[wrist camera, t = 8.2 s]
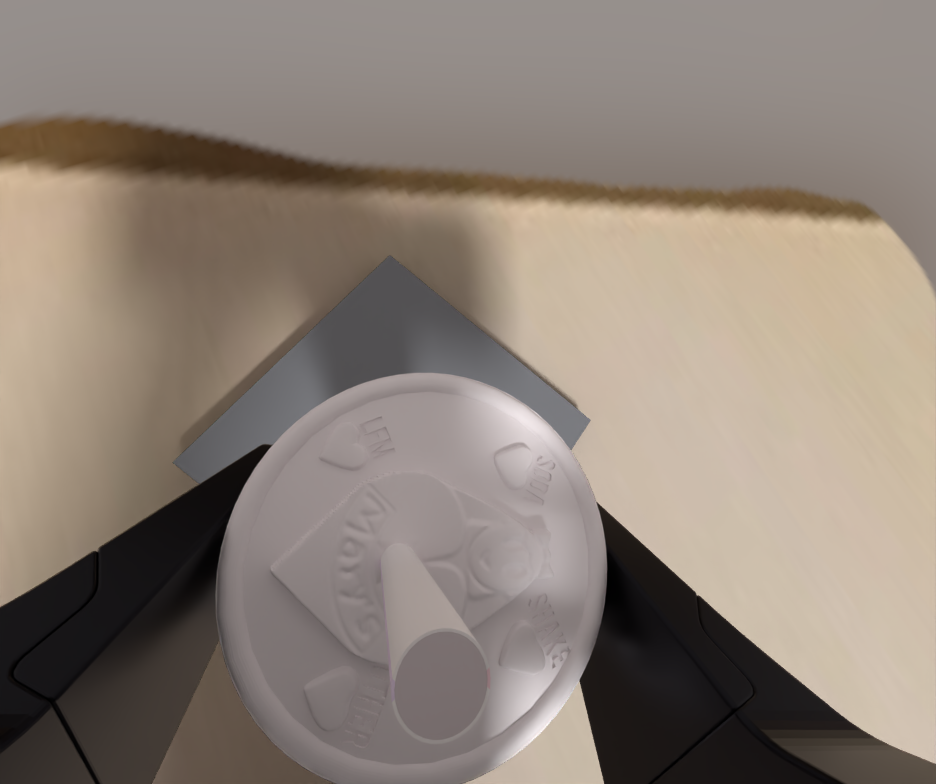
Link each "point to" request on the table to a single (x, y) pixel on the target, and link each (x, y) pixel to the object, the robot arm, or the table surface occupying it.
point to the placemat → (372, 367)
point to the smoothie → (411, 582)
